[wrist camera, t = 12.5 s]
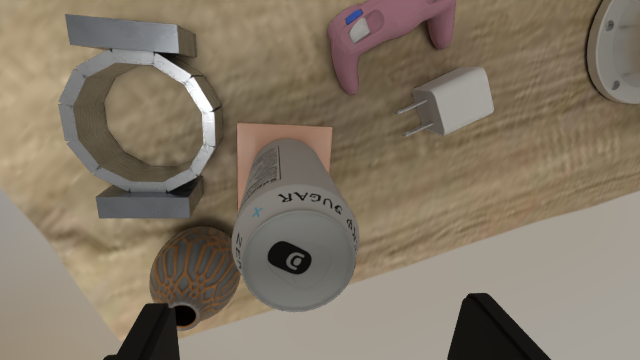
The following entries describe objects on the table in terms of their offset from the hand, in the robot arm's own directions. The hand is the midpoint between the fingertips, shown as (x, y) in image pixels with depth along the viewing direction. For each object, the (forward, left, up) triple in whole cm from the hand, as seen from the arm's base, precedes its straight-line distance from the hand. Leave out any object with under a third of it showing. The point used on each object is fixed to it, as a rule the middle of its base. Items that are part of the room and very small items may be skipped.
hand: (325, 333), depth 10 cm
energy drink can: (0, 0, -19) cm, 19 cm away
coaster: (0, 0, -19) cm, 19 cm away
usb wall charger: (-12, -6, -19) cm, 24 cm away
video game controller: (-7, -11, -19) cm, 24 cm away
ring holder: (+10, -4, -19) cm, 22 cm away
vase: (+7, +8, -19) cm, 22 cm away
